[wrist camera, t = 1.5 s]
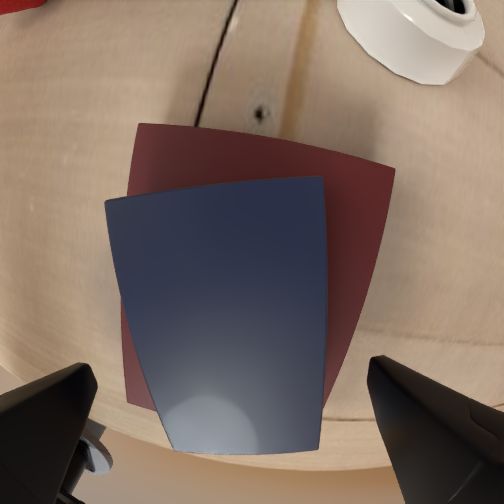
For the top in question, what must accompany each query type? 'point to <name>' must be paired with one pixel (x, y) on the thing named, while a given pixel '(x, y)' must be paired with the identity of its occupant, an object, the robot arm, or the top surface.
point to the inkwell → (416, 35)
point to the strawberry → (18, 5)
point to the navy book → (228, 310)
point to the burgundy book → (268, 167)
